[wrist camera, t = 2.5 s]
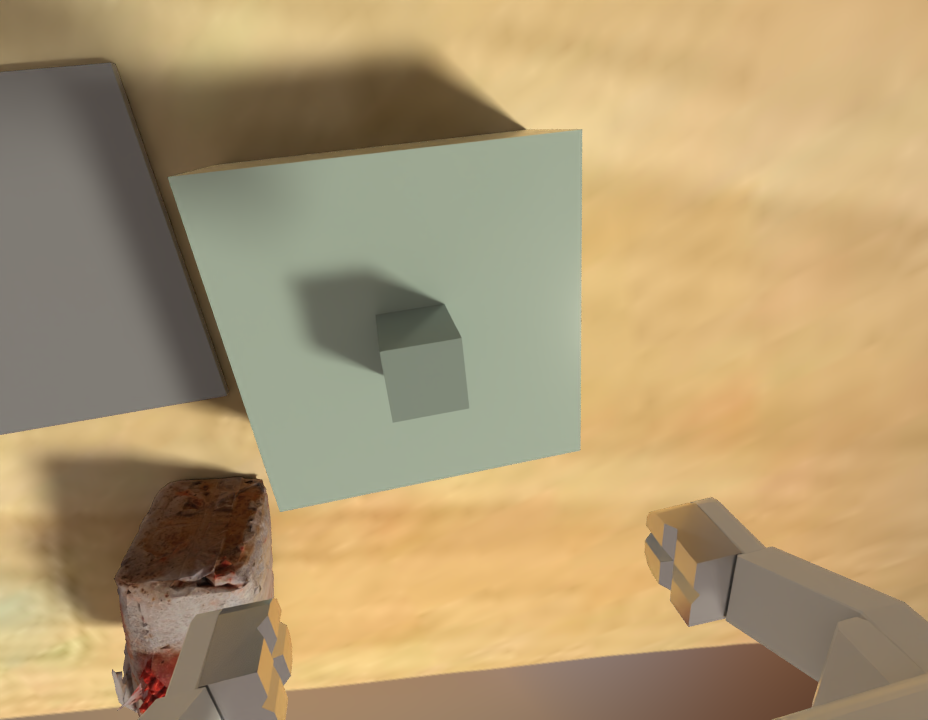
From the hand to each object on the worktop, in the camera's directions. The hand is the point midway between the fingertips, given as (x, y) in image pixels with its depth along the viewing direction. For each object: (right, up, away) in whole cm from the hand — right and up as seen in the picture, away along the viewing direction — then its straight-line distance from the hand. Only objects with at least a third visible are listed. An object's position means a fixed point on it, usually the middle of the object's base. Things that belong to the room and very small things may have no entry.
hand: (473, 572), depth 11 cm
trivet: (-23, +9, +13) cm, 28 cm away
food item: (-17, -9, +23) cm, 30 cm away
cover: (-4, +8, +18) cm, 20 cm away
